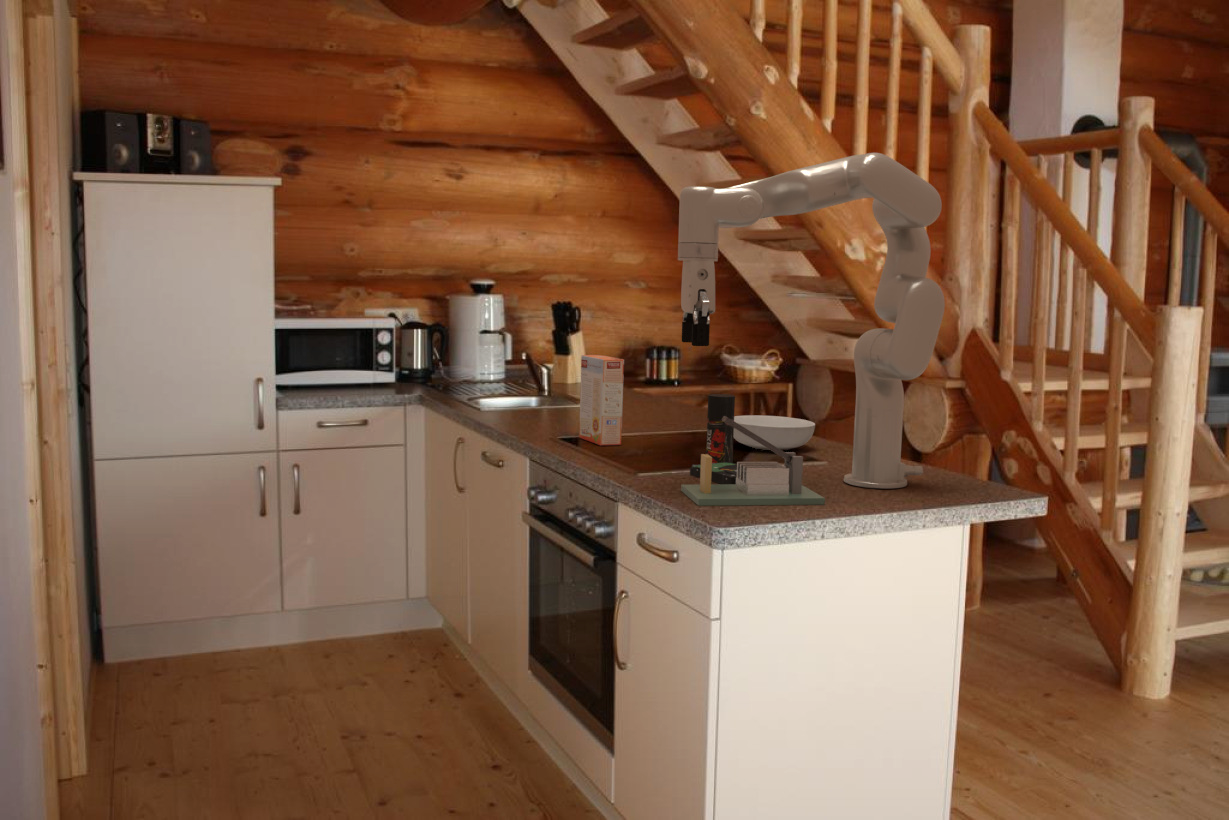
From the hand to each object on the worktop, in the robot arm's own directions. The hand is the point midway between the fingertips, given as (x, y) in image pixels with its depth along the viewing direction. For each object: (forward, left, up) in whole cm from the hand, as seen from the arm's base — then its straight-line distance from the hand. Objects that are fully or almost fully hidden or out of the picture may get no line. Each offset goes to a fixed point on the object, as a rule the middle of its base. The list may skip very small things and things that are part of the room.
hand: (694, 344), depth 222 cm
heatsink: (-12, +7, -27) cm, 31 cm away
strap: (-11, +7, -18) cm, 23 cm away
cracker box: (+8, -62, -29) cm, 69 cm away
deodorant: (-14, -32, -29) cm, 45 cm away
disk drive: (-11, -12, -29) cm, 34 cm away
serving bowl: (-32, -52, -29) cm, 68 cm away
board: (-10, +7, -28) cm, 31 cm away
